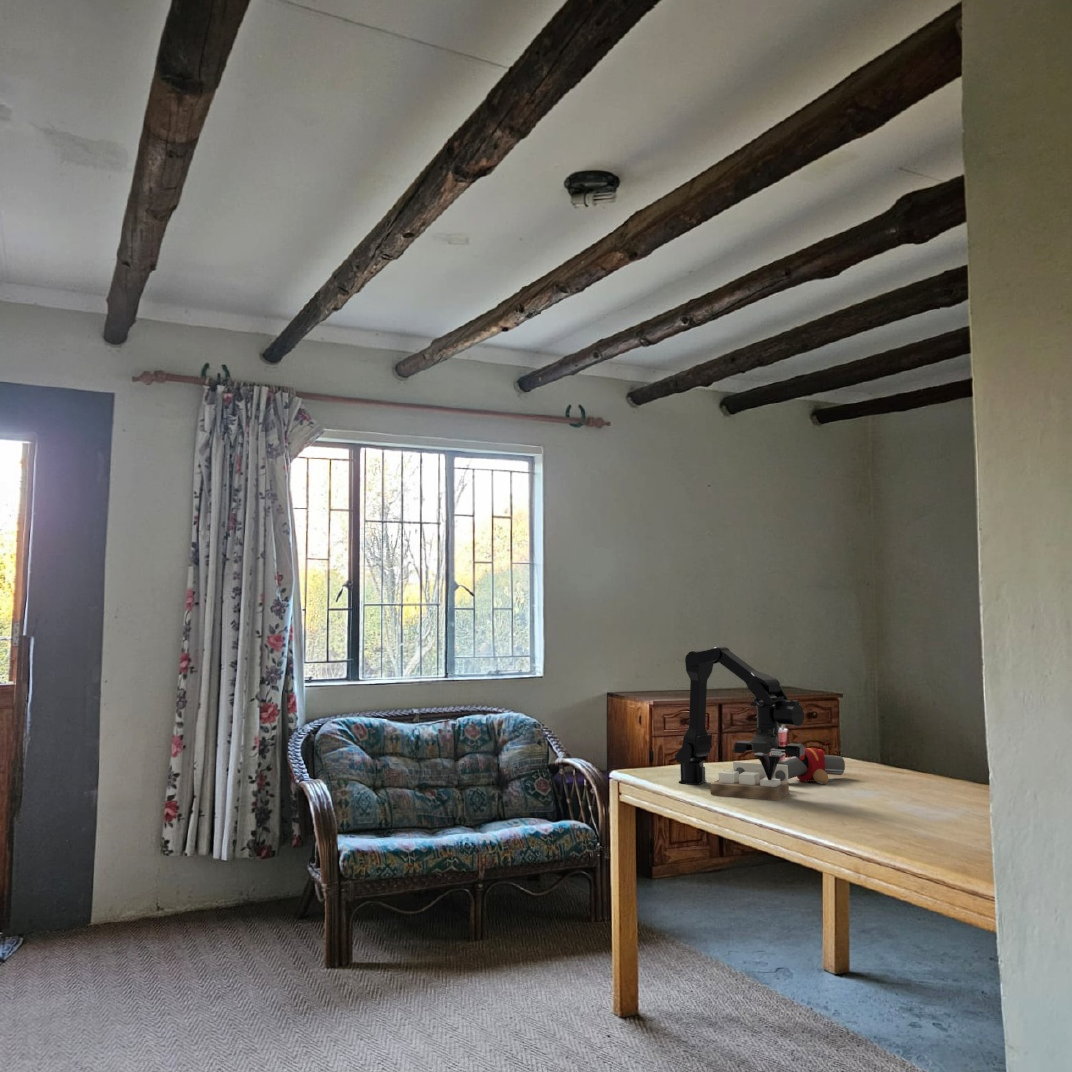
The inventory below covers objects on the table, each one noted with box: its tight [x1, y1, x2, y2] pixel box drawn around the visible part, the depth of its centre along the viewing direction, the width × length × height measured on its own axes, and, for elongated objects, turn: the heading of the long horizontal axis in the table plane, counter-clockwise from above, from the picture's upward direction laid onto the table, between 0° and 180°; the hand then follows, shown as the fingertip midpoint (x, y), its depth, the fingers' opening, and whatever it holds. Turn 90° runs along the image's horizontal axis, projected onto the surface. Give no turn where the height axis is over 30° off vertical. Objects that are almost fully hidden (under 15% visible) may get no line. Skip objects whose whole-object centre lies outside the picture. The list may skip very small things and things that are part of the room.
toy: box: [778, 747, 846, 785], centre depth 277 cm, size 23×10×15 cm
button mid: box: [739, 772, 760, 785], centre depth 258 cm, size 4×4×4 cm
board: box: [709, 779, 790, 801], centre depth 258 cm, size 19×11×3 cm, turn 58°
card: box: [732, 761, 789, 783], centre depth 267 cm, size 16×1×7 cm, turn 59°
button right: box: [760, 778, 781, 787], centre depth 255 cm, size 4×4×4 cm
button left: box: [718, 770, 739, 784], centre depth 262 cm, size 4×4×4 cm
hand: (770, 779), depth 255 cm, fingers closed, pressing on button right
